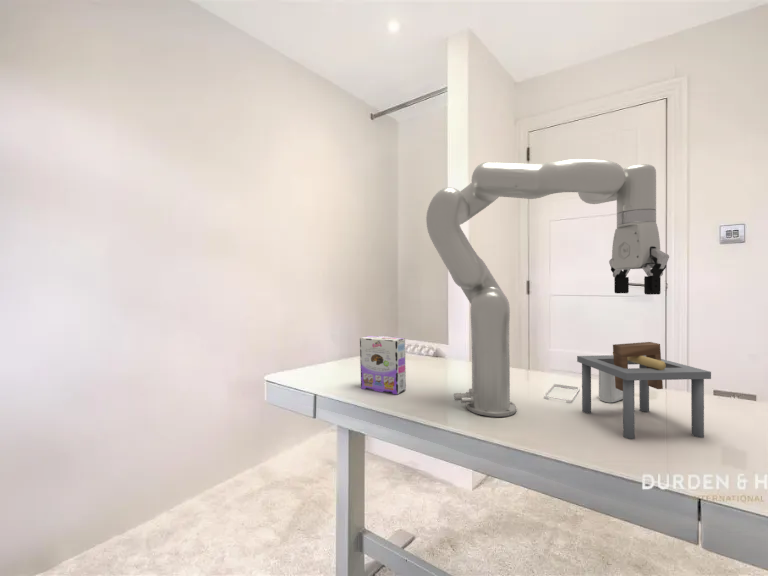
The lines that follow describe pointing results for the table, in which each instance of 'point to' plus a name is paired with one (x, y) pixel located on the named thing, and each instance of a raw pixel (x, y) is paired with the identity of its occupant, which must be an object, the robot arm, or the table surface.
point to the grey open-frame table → (645, 386)
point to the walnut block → (636, 350)
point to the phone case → (562, 387)
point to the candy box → (383, 364)
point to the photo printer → (608, 388)
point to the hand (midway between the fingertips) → (636, 293)
